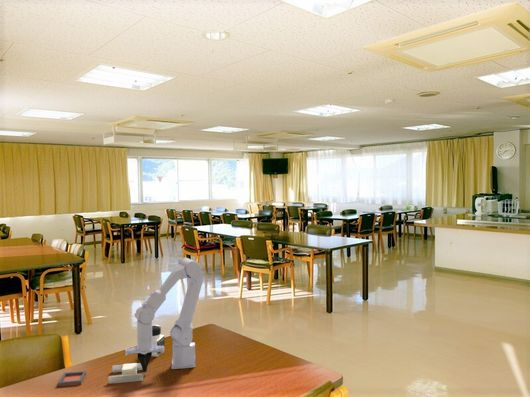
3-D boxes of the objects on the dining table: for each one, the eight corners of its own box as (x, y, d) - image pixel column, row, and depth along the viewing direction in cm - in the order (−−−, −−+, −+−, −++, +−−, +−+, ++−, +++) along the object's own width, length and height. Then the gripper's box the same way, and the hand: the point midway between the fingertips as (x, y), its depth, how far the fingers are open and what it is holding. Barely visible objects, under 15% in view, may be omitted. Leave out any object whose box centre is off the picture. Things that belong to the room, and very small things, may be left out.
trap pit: (86, 374, 162) (85, 370, 162) (81, 384, 154) (81, 380, 154) (64, 376, 160) (64, 372, 160) (58, 386, 152) (58, 382, 152)
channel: (145, 368, 167) (145, 362, 167) (143, 380, 157) (142, 374, 157) (112, 371, 164) (112, 365, 164) (108, 383, 154) (108, 377, 154)
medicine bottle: (157, 357, 178) (157, 329, 177) (142, 355, 179) (142, 328, 179) (164, 350, 185) (164, 324, 184) (150, 348, 186) (150, 322, 186)
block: (137, 372, 164) (136, 362, 164) (135, 378, 159) (135, 368, 159) (123, 373, 163) (123, 363, 163) (121, 379, 158) (121, 369, 158)
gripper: (124, 342, 156) (124, 377, 156) (163, 339, 159) (163, 373, 159) (126, 335, 163) (126, 369, 163) (163, 333, 166) (164, 365, 166)
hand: (145, 370), depth 162 cm, fingers closed
